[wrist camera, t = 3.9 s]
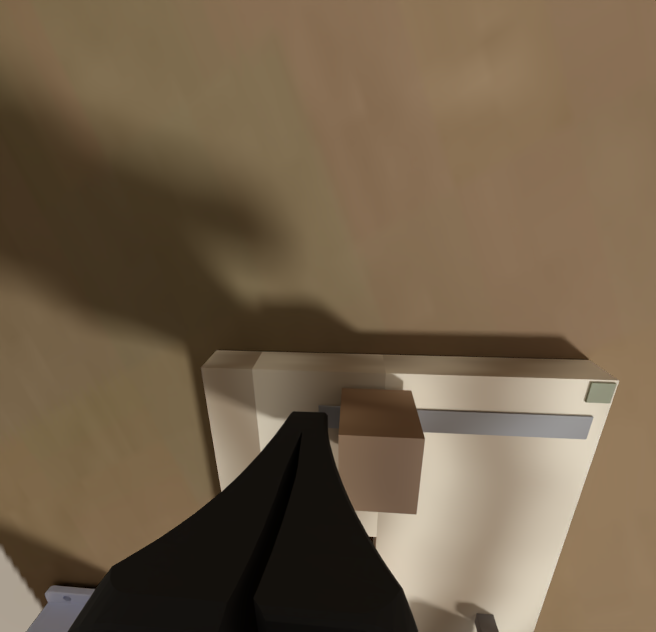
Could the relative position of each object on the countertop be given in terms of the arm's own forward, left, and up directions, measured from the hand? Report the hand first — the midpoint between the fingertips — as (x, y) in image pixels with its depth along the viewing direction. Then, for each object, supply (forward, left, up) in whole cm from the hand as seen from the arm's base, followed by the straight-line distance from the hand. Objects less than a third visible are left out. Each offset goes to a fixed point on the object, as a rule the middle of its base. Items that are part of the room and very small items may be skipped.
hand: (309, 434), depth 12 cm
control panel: (+3, -8, -3) cm, 9 cm away
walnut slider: (+2, 0, -1) cm, 3 cm away
